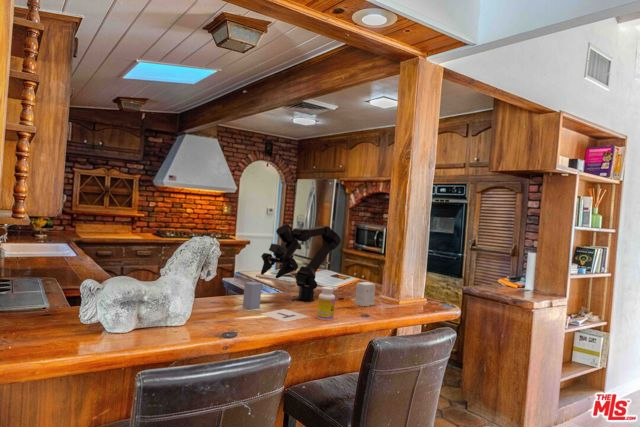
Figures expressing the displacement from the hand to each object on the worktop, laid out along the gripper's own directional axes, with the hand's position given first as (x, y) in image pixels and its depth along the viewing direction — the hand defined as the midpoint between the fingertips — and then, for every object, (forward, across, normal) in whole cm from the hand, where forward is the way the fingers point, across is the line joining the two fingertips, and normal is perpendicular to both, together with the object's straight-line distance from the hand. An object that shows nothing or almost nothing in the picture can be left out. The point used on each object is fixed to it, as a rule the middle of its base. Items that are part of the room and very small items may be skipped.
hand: (268, 275), depth 185 cm
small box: (-22, +22, +41) cm, 51 cm away
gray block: (+15, -1, +4) cm, 16 cm away
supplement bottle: (+5, +27, +14) cm, 31 cm away
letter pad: (+13, +15, +6) cm, 21 cm away
